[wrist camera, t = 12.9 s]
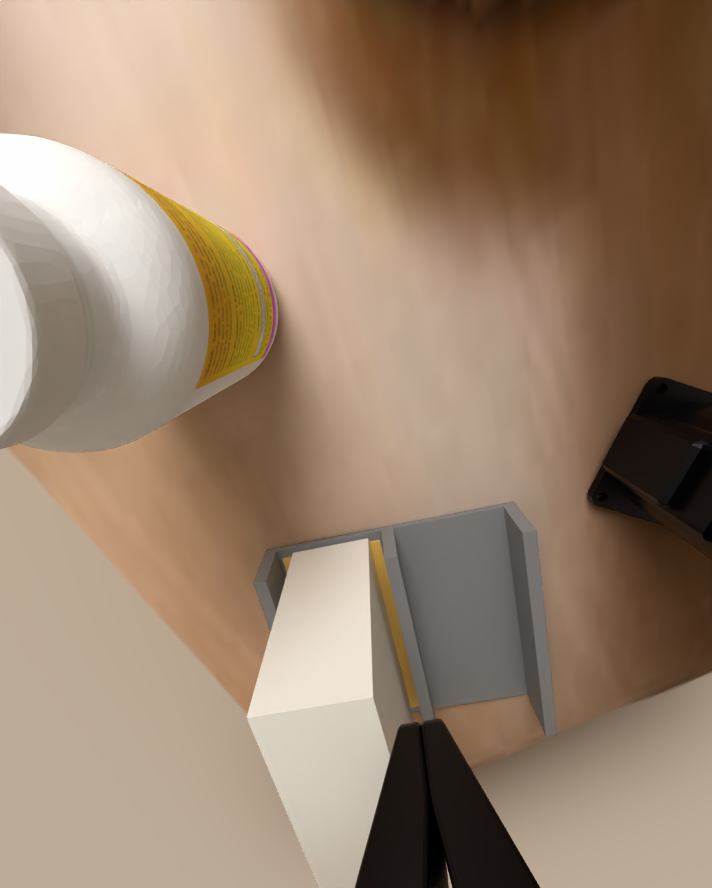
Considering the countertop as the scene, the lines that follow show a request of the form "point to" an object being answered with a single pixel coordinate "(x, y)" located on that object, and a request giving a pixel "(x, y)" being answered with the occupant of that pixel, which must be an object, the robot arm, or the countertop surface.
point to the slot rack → (454, 606)
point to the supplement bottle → (114, 303)
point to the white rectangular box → (330, 704)
